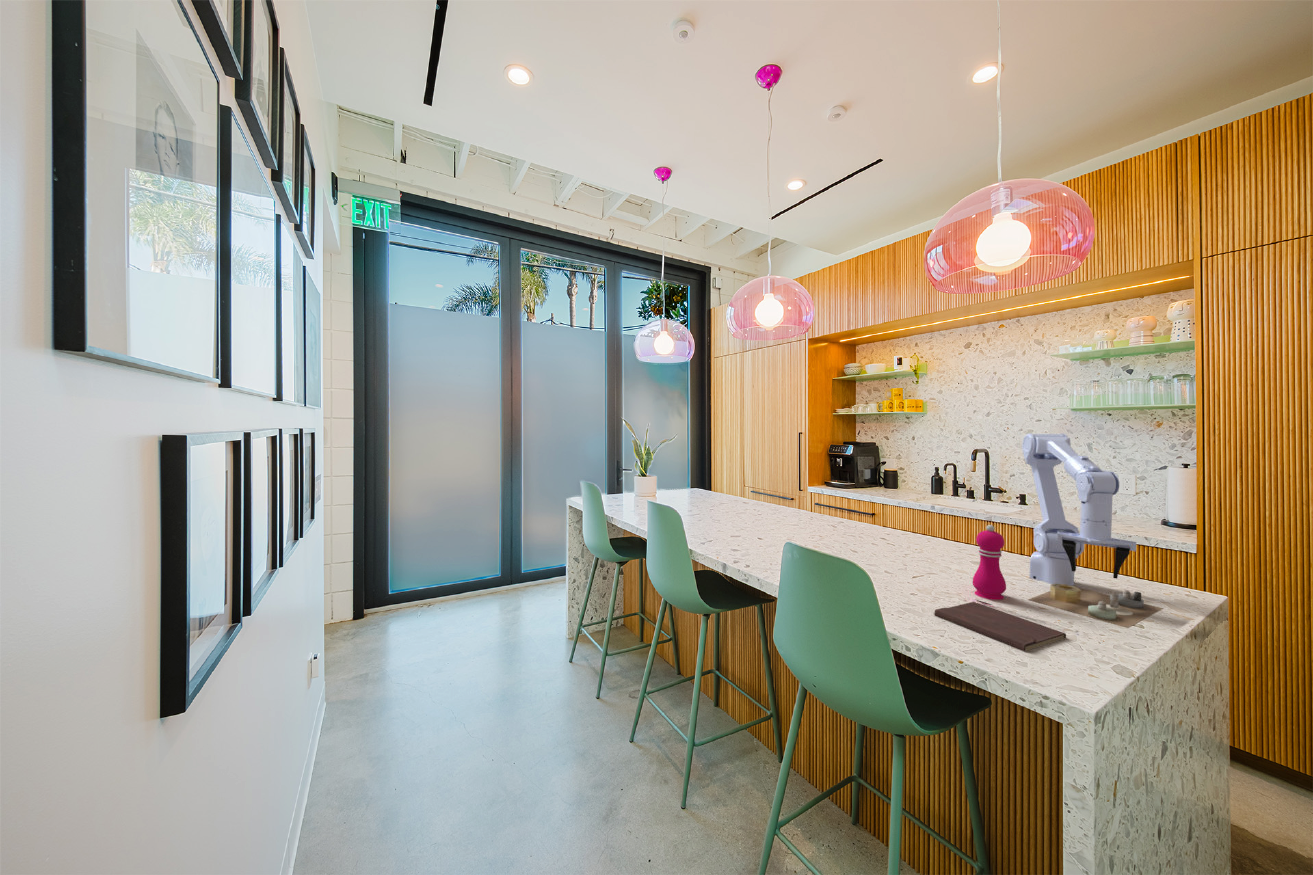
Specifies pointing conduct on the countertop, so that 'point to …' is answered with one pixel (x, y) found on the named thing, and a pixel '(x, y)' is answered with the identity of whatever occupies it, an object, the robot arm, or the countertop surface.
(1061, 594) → the brass idler gear
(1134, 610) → the board
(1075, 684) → the countertop surface
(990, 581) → the pepper mill
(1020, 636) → the notebook
